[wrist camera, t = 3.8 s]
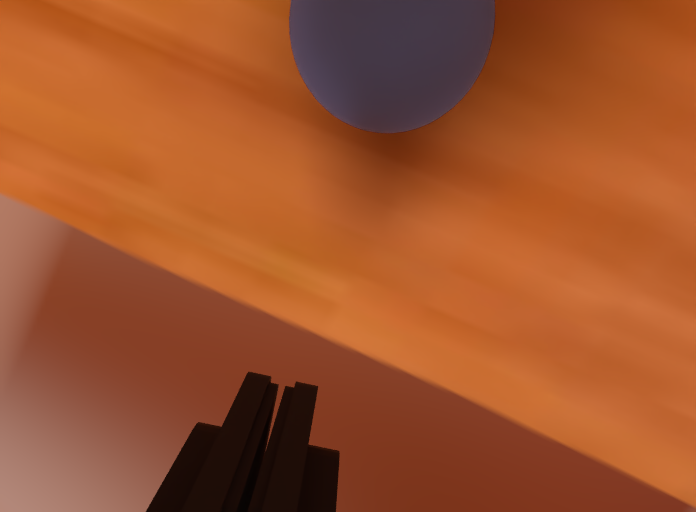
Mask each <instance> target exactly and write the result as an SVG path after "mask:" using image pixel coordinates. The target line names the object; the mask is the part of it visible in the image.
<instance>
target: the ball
mask: <svg viewBox="0 0 696 512" xmlns="http://www.w3.org/2000/svg"><path fill="white" fill-rule="evenodd" d="M494 23H495V0H291V7H290V17H289V24H290V39H291V47H292V51H293V55H294V59H295V62H296V65H297V67H298V70H299V72H300V75H301V76H302V78H303V80H304V82H305V84H306V86H307V87H308V89H309V90H310V91H311V93H312V94H313V96H314V97H315V98H316V99H317V101H318V102H319V103H320V104H321V105H322V106H323V107H324V108H325V109H326V110H328V111H329V112H330V113H331V114H332V115H334V116H335V117H337V118H338V119H340V120H341V121H343V122H345V123H347V124H349V125H351V126H354V127H356V128H359V129H362V130H366V131H371V132H377V133H397V132H405V131H409V130H413V129H417V128H419V127H422V126H424V125H427V124H429V123H431V122H433V121H434V120H436V119H438V118H440V117H441V116H442V115H444V114H445V113H446V112H448V111H449V110H451V109H452V108H453V107H454V106H455V105H456V104H457V103H458V102H459V101H460V100H461V99H462V98H463V97H464V96H465V95H466V93H467V92H468V91H469V90H470V89H471V87H472V86H473V84H474V82H475V81H476V79H477V78H478V76H479V74H480V72H481V70H482V68H483V66H484V64H485V61H486V58H487V55H488V52H489V50H490V46H491V41H492V37H493V32H494Z"/></svg>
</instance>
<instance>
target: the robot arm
mask: <svg viewBox="0 0 696 512" xmlns="http://www.w3.org/2000/svg"><path fill="white" fill-rule="evenodd" d="M317 390H318V386H315V385H310V384H305V383H300V382H296V383H295V387H294V388H293V387H288V386H285V389H284V393H283V396H282V399H281V403H280V406H279V409H278V412H277V416H276V419H275V422H274V426H273V429H272V432H271V436H270V439H269V442H268V446H267V441H268V436H269V431H270V426H271V421H272V416H273V411H274V406H275V401H276V396H277V391H278V384H274V383H271V376H266V375H262V374H257V373H253V372H248V373H247V375H246V377H245V379H244V381H243V383H242V386H241V388H240V390H239V392H238V394H237V396H236V398H235V400H234V402H233V404H232V406H231V408H230V410H229V413H228V415H227V417H226V419H225V421H224V423H223V425H222V427H220V426H215V425H210V424H205V423H200V422H198V423H197V424H196V426H195V427H194V429H193V430H192V432H191V434H190V435H189V437H188V439H187V441H186V442H185V444H184V446H183V447H182V449H181V451H180V453H179V455H178V456H177V458H176V460H175V461H174V463H173V465H172V467H171V469H170V471H169V472H168V474H167V475H166V477H165V479H164V481H163V482H162V485H161V486H160V488H159V489H158V491H157V493H156V495H155V497H154V498H153V500H152V502H151V504H150V505H149V507H148V509H147V511H146V512H336V501H337V486H338V485H337V484H338V470H339V451H337V450H332V449H327V448H322V447H318V446H313V445H308V443H309V437H310V431H311V425H312V419H313V413H314V408H315V402H316V396H317ZM266 447H267V449H266Z"/></svg>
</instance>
